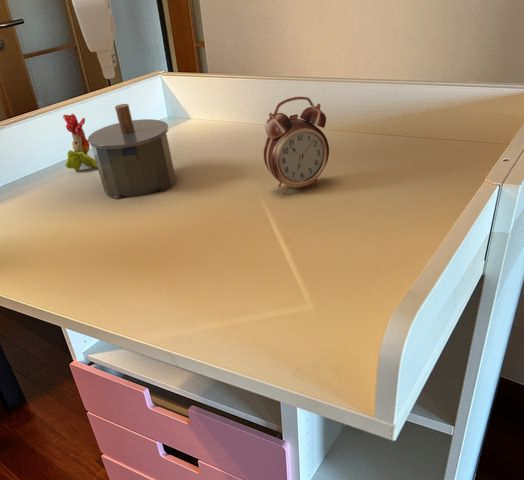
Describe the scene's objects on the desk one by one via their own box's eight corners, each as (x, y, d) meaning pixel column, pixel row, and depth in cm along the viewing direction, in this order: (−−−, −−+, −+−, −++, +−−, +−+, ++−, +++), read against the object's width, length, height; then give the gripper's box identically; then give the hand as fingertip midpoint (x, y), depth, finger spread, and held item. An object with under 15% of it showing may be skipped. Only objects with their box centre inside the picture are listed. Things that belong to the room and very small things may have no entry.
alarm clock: (276, 199, 96) (267, 107, 87) (265, 190, 100) (256, 101, 91) (333, 184, 99) (330, 93, 89) (320, 175, 102) (316, 87, 93)
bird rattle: (73, 174, 123) (65, 171, 115) (60, 121, 121) (50, 113, 112) (101, 170, 124) (96, 166, 115) (89, 116, 121) (82, 108, 112)
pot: (103, 211, 100) (87, 158, 94) (107, 174, 115) (94, 126, 109) (178, 198, 101) (167, 145, 95) (173, 163, 116) (163, 115, 110)
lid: (87, 157, 96) (76, 123, 93) (92, 133, 108) (83, 102, 104) (171, 144, 97) (164, 109, 94) (167, 121, 109) (161, 89, 105)
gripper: (73, -27, 95) (96, 63, 104) (61, -18, 79) (88, 87, 87) (111, -31, 96) (130, 58, 104) (106, -24, 80) (129, 81, 88)
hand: (111, 72), depth 96 cm, fingers open, 8 cm apart
